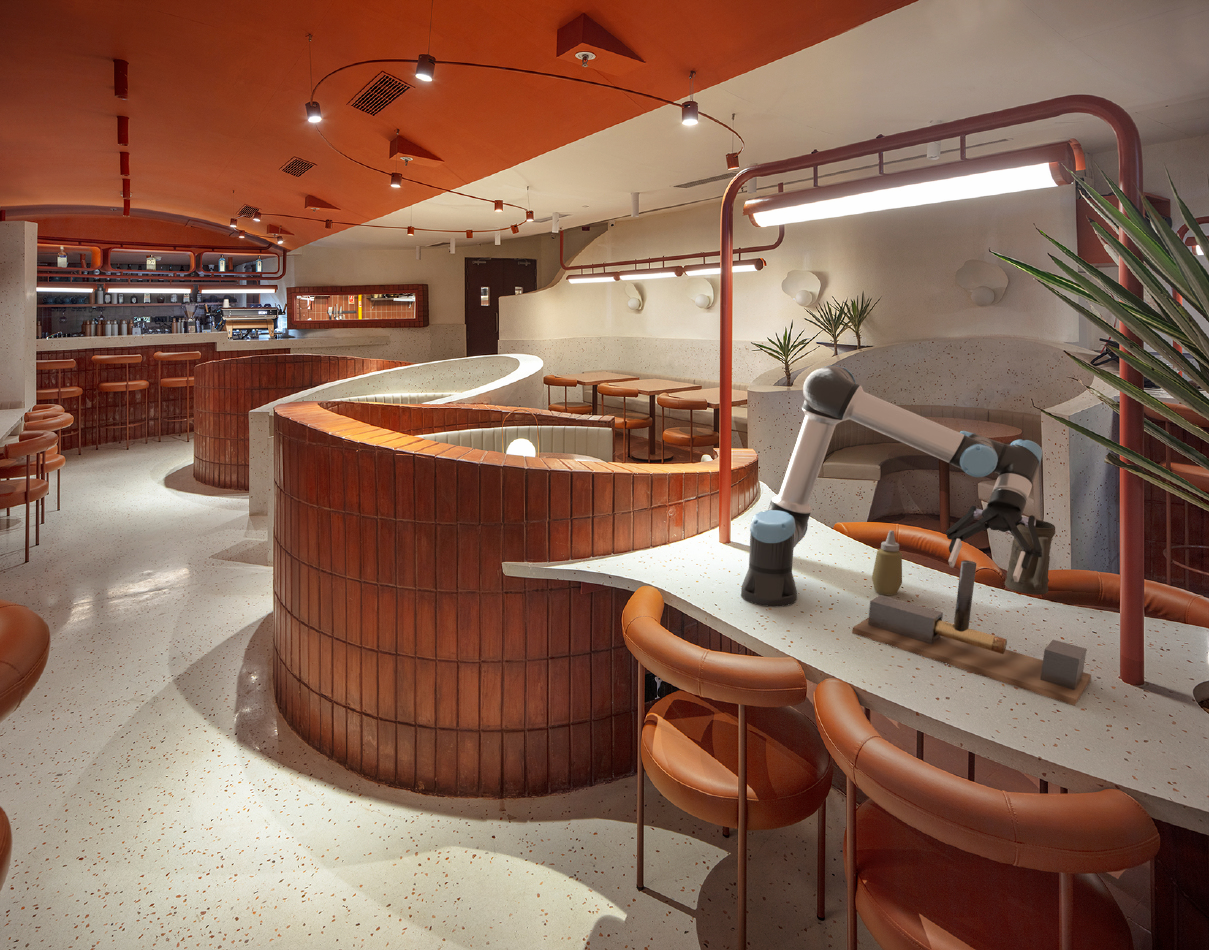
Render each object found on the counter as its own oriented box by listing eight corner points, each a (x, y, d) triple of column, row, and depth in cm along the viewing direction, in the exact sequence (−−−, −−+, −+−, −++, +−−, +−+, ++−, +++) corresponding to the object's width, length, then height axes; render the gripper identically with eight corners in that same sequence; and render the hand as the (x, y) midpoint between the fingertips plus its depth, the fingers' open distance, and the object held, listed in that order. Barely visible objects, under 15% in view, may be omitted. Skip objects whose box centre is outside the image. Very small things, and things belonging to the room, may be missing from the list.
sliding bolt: (878, 619, 165) (885, 546, 162) (884, 615, 168) (891, 543, 164) (1000, 656, 147) (1011, 574, 143) (1005, 651, 149) (1016, 570, 145)
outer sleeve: (868, 624, 166) (870, 600, 165) (878, 618, 170) (880, 594, 169) (931, 644, 156) (934, 619, 155) (940, 637, 160) (943, 612, 159)
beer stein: (996, 579, 202) (1007, 516, 196) (1034, 581, 201) (1045, 517, 195) (1022, 603, 187) (1034, 535, 182) (1063, 604, 186) (1076, 536, 181)
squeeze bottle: (904, 598, 187) (910, 536, 184) (873, 595, 189) (879, 534, 185) (897, 587, 195) (903, 527, 191) (868, 585, 197) (873, 526, 193)
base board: (852, 633, 165) (852, 627, 165) (876, 616, 175) (877, 611, 175) (1074, 705, 133) (1076, 698, 133) (1090, 680, 143) (1091, 674, 142)
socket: (1040, 679, 140) (1044, 649, 139) (1048, 668, 145) (1052, 639, 143) (1074, 690, 136) (1079, 659, 135) (1081, 678, 141) (1086, 648, 139)
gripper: (1071, 515, 156) (1046, 593, 149) (956, 497, 174) (929, 566, 166) (1069, 496, 151) (1043, 576, 144) (951, 480, 169) (922, 550, 161)
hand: (982, 571), depth 155 cm, fingers open, 13 cm apart
